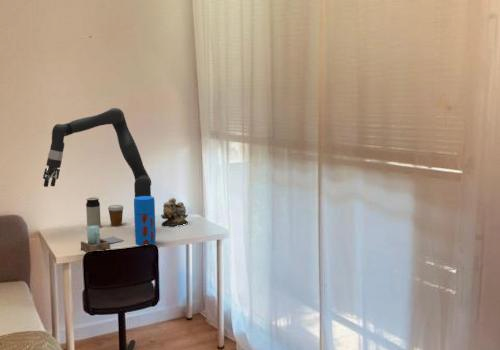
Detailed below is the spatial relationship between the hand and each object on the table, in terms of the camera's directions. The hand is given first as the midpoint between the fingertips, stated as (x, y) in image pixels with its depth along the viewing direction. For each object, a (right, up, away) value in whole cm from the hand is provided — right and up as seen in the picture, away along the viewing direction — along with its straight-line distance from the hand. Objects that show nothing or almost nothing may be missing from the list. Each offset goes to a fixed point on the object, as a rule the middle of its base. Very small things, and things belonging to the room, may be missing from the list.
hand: (49, 186), depth 274 cm
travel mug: (+18, -26, +23) cm, 39 cm away
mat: (+37, -30, -9) cm, 48 cm away
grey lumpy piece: (+67, -25, +29) cm, 77 cm away
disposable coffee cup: (+31, -25, +28) cm, 48 cm away
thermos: (+58, -31, -12) cm, 66 cm away
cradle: (+34, -32, -24) cm, 53 cm away
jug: (+34, -32, -24) cm, 52 cm away
